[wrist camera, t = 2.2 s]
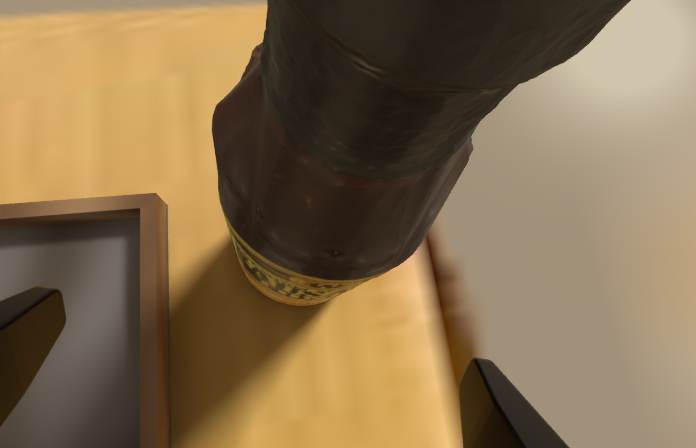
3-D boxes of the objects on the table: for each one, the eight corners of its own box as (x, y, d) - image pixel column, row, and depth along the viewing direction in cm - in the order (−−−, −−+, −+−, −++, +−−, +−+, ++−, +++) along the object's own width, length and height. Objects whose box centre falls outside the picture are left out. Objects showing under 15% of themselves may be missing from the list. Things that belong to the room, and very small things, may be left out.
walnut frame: (167, 205, 22) (155, 193, 20) (171, 465, 19) (157, 478, 17) (-100, 226, 20) (-139, 215, 19) (-144, 516, 17) (-196, 536, 15)
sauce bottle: (233, 304, 21) (-223, 51, 2) (247, 186, 23) (66, -596, 4) (362, 311, 22) (913, 185, 3) (367, 197, 23) (739, -376, 4)
